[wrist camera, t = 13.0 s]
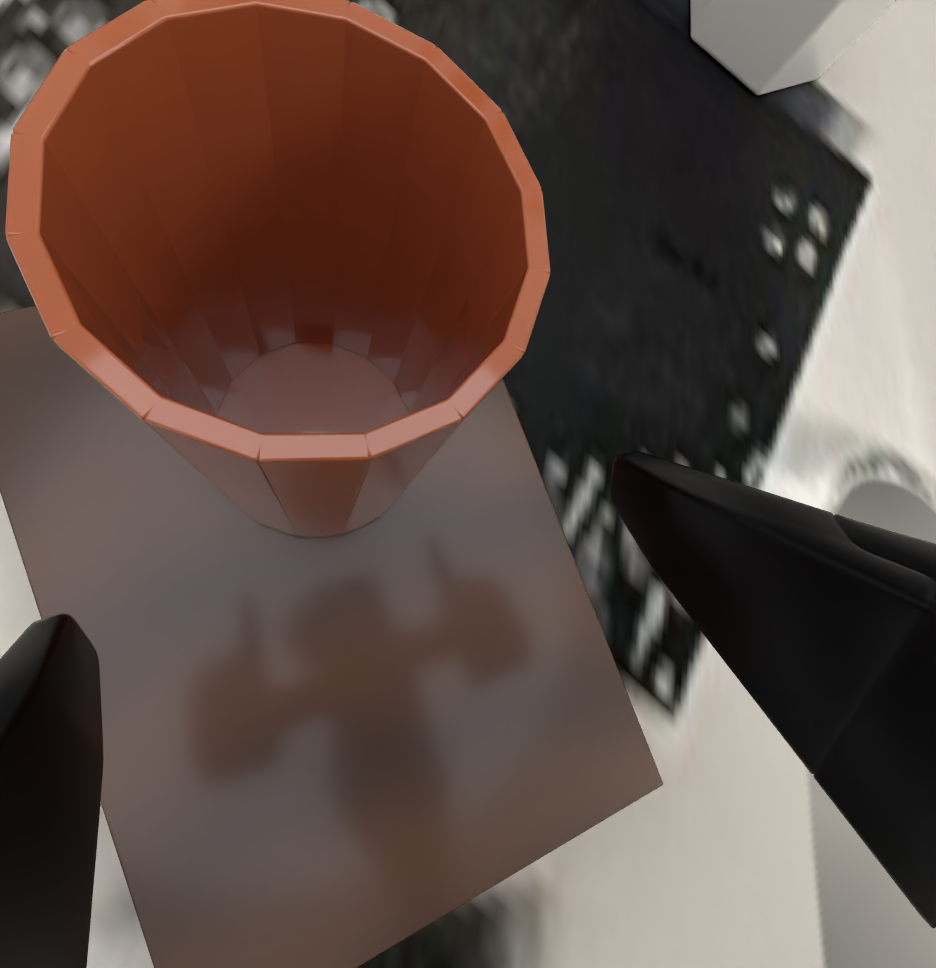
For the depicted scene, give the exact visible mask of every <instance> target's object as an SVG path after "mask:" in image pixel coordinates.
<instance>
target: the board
mask: <svg viewBox="0 0 936 968" xmlns="http://www.w3.org/2000/svg"><path fill="white" fill-rule="evenodd" d="M0 492H1V495H2V498H3V501H4V505H5V508H6V511H7V514H8V517H9V520H10V523H11V526H12V529H13V532H14V535H15V539H16V542H17V545H18V548H19V551H20V554H21V557H22V560H23V563H24V566H25V569H26V573H27V576H28V579H29V582H30V585H31V588H32V591H33V594H34V597H35V600H36V603H37V607H38V610H39V613H40V616H41V619H44V618H48V617H51V616H55V615H59V614H63V613H64V614H69V615H71V616H72V617H73V618H74V619H75V620H76V622H77V623H78V625H79V626H80V627H81V629H82V630H83V632H84V633H85V635H86V636H87V637H88V639H89V640H90V642H91V643H92V644H93V646H94V647H95V649H96V652H97V654H98V658H99V666H100V687H101V708H102V729H103V759H104V761H103V779H102V791H101V804H102V808H103V811H104V814H105V817H106V820H107V823H108V826H109V829H110V832H111V835H112V838H113V842H114V845H115V848H116V851H117V854H118V857H119V860H120V863H121V866H122V869H123V872H124V876H125V879H126V882H127V885H128V888H129V891H130V894H131V897H132V900H133V903H134V906H135V910H136V913H137V916H138V919H139V922H140V925H141V928H142V931H143V934H144V937H145V940H146V944H147V947H148V950H149V953H150V956H151V959H152V962H153V965H154V968H357V967H359V966H360V965H362V964H364V963H365V962H367V961H369V960H370V959H372V958H374V957H375V956H377V955H379V954H380V953H382V952H384V951H385V950H387V949H389V948H390V947H392V946H394V945H395V944H397V943H399V942H400V941H402V940H404V939H405V938H407V937H409V936H410V935H412V934H414V933H416V932H417V931H419V930H421V929H422V928H424V927H426V926H427V925H429V924H431V923H432V922H434V921H436V920H437V919H439V918H441V917H442V916H444V915H446V914H447V913H449V912H451V911H452V910H454V909H456V908H457V907H459V906H461V905H462V904H464V903H466V902H467V901H469V900H471V899H472V898H474V897H476V896H477V895H479V894H481V893H482V892H484V891H486V890H487V889H489V888H491V887H493V886H494V885H496V884H498V883H499V882H501V881H503V880H504V879H506V878H508V877H509V876H511V875H513V874H514V873H516V872H518V871H519V870H521V869H523V868H524V867H526V866H528V865H529V864H531V863H533V862H534V861H536V860H538V859H539V858H541V857H543V856H544V855H546V854H548V853H549V852H551V851H553V850H554V849H556V848H558V847H559V846H561V845H563V844H565V843H566V842H568V841H570V840H571V839H573V838H575V837H576V836H578V835H580V834H581V833H583V832H585V831H586V830H588V829H590V828H591V827H593V826H595V825H596V824H598V823H600V822H601V821H603V820H605V819H606V818H608V817H610V816H611V815H613V814H615V813H616V812H618V811H620V810H621V809H623V808H625V807H626V806H628V805H630V804H631V803H633V802H635V801H637V800H638V799H640V798H642V797H643V796H645V795H647V794H648V793H650V792H652V791H653V790H655V789H657V788H658V787H660V786H662V785H663V782H662V780H661V777H660V775H659V772H658V770H657V767H656V764H655V762H654V759H653V757H652V754H651V752H650V749H649V747H648V744H647V742H646V739H645V737H644V734H643V732H642V729H641V727H640V724H639V722H638V719H637V717H636V714H635V712H634V709H633V706H632V704H631V701H630V699H629V696H628V694H627V691H626V689H625V686H624V684H623V681H622V679H621V676H620V674H619V671H618V669H617V666H616V664H615V661H614V659H613V656H612V653H611V651H610V648H609V646H608V643H607V641H606V638H605V636H604V633H603V631H602V628H601V626H600V623H599V621H598V618H597V616H596V613H595V611H594V608H593V606H592V603H591V601H590V598H589V595H588V593H587V590H586V588H585V585H584V583H583V580H582V578H581V575H580V573H579V570H578V568H577V565H576V563H575V560H574V558H573V555H572V553H571V550H570V548H569V545H568V543H567V540H566V537H565V535H564V532H563V530H562V527H561V525H560V522H559V520H558V517H557V515H556V512H555V510H554V507H553V505H552V502H551V500H550V497H549V495H548V492H547V490H546V487H545V484H544V482H543V479H542V477H541V474H540V472H539V469H538V467H537V464H536V462H535V459H534V457H533V454H532V452H531V449H530V447H529V444H528V442H527V439H526V437H525V434H524V432H523V429H522V426H521V424H520V421H519V419H518V416H517V414H516V411H515V409H514V406H513V404H512V401H511V399H510V396H509V394H508V391H507V389H506V386H505V384H504V381H503V379H502V380H501V382H500V383H499V384H498V385H497V386H496V387H495V388H494V390H493V391H492V392H491V393H490V394H489V395H488V396H487V398H486V399H485V400H484V401H483V402H482V403H481V404H480V405H479V407H478V408H477V409H476V410H475V411H474V412H473V413H472V415H471V416H470V417H469V418H468V419H467V420H466V421H465V423H464V424H463V425H462V426H461V427H460V428H459V429H458V430H457V432H456V433H455V434H454V435H453V436H452V437H451V438H450V440H449V441H448V442H447V443H446V444H445V445H444V446H443V447H442V449H441V450H440V451H439V452H438V453H437V454H436V455H435V457H434V458H433V459H432V460H431V461H430V462H429V463H428V465H427V466H426V467H425V468H424V469H423V470H422V471H421V472H420V474H419V475H418V476H417V477H416V478H415V479H414V480H413V482H412V483H411V484H410V485H409V486H408V487H407V488H406V489H405V491H404V492H403V493H402V494H401V495H400V496H399V497H398V498H397V499H396V500H395V501H394V502H393V504H392V505H391V506H390V507H389V508H388V509H387V510H386V511H385V512H384V513H383V514H382V515H381V516H380V517H378V518H376V519H374V520H372V521H370V522H368V523H367V524H365V525H363V526H361V527H359V528H356V529H354V530H351V531H348V532H346V533H343V534H336V535H330V536H321V537H312V536H296V535H293V534H289V533H285V532H281V531H278V530H276V529H273V528H271V527H268V526H266V525H264V524H261V523H258V522H256V521H254V520H253V519H252V518H251V517H250V516H249V515H248V514H247V513H245V512H244V511H243V510H242V509H241V508H240V507H239V506H237V505H236V504H235V503H234V502H233V501H232V500H231V499H230V498H228V497H227V496H226V495H225V494H224V493H223V492H222V491H220V490H219V489H218V488H217V487H216V486H215V485H214V484H213V483H212V482H210V481H209V480H208V479H207V478H206V477H205V476H204V475H203V474H201V473H200V472H199V471H198V470H197V469H196V468H195V467H194V466H192V465H191V464H190V463H189V462H188V461H187V460H186V459H185V458H183V457H182V456H181V455H180V454H179V453H178V452H177V451H176V450H174V449H173V448H172V447H171V446H170V445H169V444H168V443H167V442H165V441H164V440H163V439H162V438H161V437H160V436H159V435H158V434H156V433H155V432H154V431H153V430H152V429H151V428H150V427H149V426H147V425H146V424H145V423H144V422H143V421H142V420H141V419H140V418H139V417H137V416H136V415H135V414H134V413H133V412H132V411H131V410H130V409H128V408H127V407H126V406H125V405H124V404H123V403H122V402H121V401H119V400H118V399H117V398H116V397H115V396H114V395H113V394H112V393H110V392H109V391H108V390H107V389H106V388H105V387H104V386H103V385H101V384H100V383H99V382H98V381H97V380H96V379H95V378H94V377H92V376H91V375H90V374H89V373H88V372H87V371H86V370H85V369H83V368H82V367H81V366H80V365H79V364H78V363H77V362H76V361H74V360H73V359H72V358H71V357H70V356H69V355H68V354H67V353H65V352H64V351H63V350H62V349H61V348H60V347H59V346H58V345H57V344H55V342H54V340H53V339H52V338H51V337H50V335H49V333H48V330H47V328H46V326H45V324H44V322H43V319H42V317H41V315H40V313H39V311H38V308H37V306H31V307H27V308H22V309H17V310H12V311H8V312H3V313H0Z"/></svg>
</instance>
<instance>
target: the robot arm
mask: <svg viewBox="0 0 936 968" xmlns="http://www.w3.org/2000/svg"><path fill="white" fill-rule="evenodd" d="M610 498H611V501H612V503H613V505H614V507H615V508H616V510H617V512H618V513H619V515H620V517H621V518H622V520H623V521H624V523H625V525H626V526H627V528H628V530H629V531H630V533H631V534H632V536H633V538H634V539H635V541H636V543H637V544H638V546H639V548H640V549H641V551H642V552H643V554H644V556H645V557H646V559H647V560H648V562H649V563H650V565H651V566H652V568H653V569H654V570H655V572H656V573H657V574H658V576H659V577H660V578H661V580H662V581H663V582H664V584H665V585H666V586H667V587H668V589H669V590H670V591H671V593H672V594H673V595H674V597H675V598H676V599H677V600H678V602H679V603H680V604H681V606H682V607H683V608H684V609H685V611H686V612H687V613H688V615H689V616H690V617H691V619H692V620H693V621H694V622H695V624H696V625H697V626H698V628H699V629H700V630H701V631H702V633H703V634H704V635H705V637H706V638H707V639H708V641H709V642H710V643H711V644H712V646H713V647H714V648H715V650H716V651H717V652H718V653H719V655H720V656H721V657H722V659H723V660H724V661H725V663H726V664H727V665H728V666H729V668H730V669H731V670H732V672H733V673H734V674H735V675H736V677H737V678H738V679H739V681H740V682H741V683H742V685H743V686H744V687H745V688H746V690H747V691H748V692H749V694H750V695H751V696H752V697H753V699H754V700H755V701H756V703H757V704H758V705H759V707H760V708H761V709H762V710H763V712H764V713H765V714H766V716H767V717H768V718H769V719H770V721H771V722H772V723H773V725H774V726H775V727H776V729H777V730H778V731H779V732H780V734H781V735H782V736H783V738H784V739H785V740H786V742H787V743H788V744H789V745H790V747H791V748H792V749H793V751H794V752H795V753H796V754H797V756H798V757H799V758H800V760H801V761H802V762H803V764H804V765H805V766H806V767H807V769H808V770H809V771H810V773H811V774H814V778H815V780H816V781H817V782H818V783H819V785H820V786H821V787H822V789H823V790H824V791H825V792H826V794H827V795H828V796H829V798H830V799H831V800H832V801H833V803H834V804H835V805H836V807H837V808H838V809H839V811H840V812H841V813H842V814H843V816H844V817H845V818H846V819H847V821H848V822H849V824H850V825H851V826H852V827H853V828H854V830H855V831H856V833H857V834H858V835H859V836H860V838H861V839H862V840H863V842H864V843H865V844H866V845H867V847H868V848H869V849H870V851H871V852H872V853H873V855H874V856H875V857H876V858H877V860H878V861H879V862H880V864H881V865H882V866H883V867H884V869H885V870H886V871H887V873H888V874H889V875H890V876H891V878H892V879H893V880H894V882H895V883H896V884H897V886H898V887H899V888H900V890H901V891H902V892H903V893H904V895H905V896H906V897H907V899H908V900H909V901H910V903H911V904H912V905H913V906H914V907H915V909H916V910H917V911H918V913H919V914H920V915H921V916H922V918H923V919H924V920H925V921H926V922H927V923H928V924H929V925H930V926H931V927H932V928H936V544H935V543H931V542H927V541H924V540H920V539H917V538H913V537H910V536H906V535H902V534H899V533H895V532H891V531H888V530H885V529H882V528H878V527H875V526H872V525H869V524H865V523H862V522H859V521H856V520H853V519H849V518H846V517H843V516H840V515H833V514H832V513H831V512H828V511H824V510H821V509H818V508H815V507H812V506H809V505H806V504H803V503H799V502H796V501H793V500H790V499H787V498H784V497H781V496H777V495H774V494H771V493H768V492H765V491H762V490H759V489H756V488H752V487H749V486H746V485H743V484H740V483H737V482H734V481H731V480H727V479H724V478H721V477H718V476H715V475H712V474H709V473H706V472H703V471H699V470H696V469H693V468H690V467H687V466H684V465H681V464H678V463H674V462H671V461H668V460H665V459H662V458H659V457H656V456H653V455H649V454H646V453H643V452H640V451H632V452H628V453H625V454H621V455H619V456H617V457H616V458H615V460H614V463H613V469H612V476H611V483H610ZM103 761H104V759H103V729H102V708H101V687H100V666H99V658H98V654H97V652H96V649H95V647H94V646H93V644H92V643H91V642H90V640H89V639H88V637H87V636H86V635H85V633H84V632H83V630H82V629H81V627H80V626H79V625H78V623H77V622H76V620H75V619H74V618H73V617H72V616H71V615H69V614H64V613H63V614H59V615H55V616H51V617H48V618H44V619H41V620H38V621H36V622H34V623H32V624H31V625H30V626H29V627H28V628H27V629H26V630H25V631H24V633H23V634H22V635H21V636H20V637H19V638H18V639H17V641H16V642H15V643H14V644H13V645H12V646H11V647H10V648H9V650H8V651H7V652H6V653H5V654H4V655H3V656H2V657H1V659H0V968H86V966H87V954H88V943H89V931H90V919H91V908H92V896H93V884H94V872H95V861H96V849H97V837H98V826H99V814H100V802H101V791H102V779H103Z"/></svg>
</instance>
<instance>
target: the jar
mask: <svg viewBox="0 0 936 968" xmlns="http://www.w3.org/2000/svg"><path fill="white" fill-rule="evenodd" d="M895 1H896V0H690V20H691V38H692V40H693V41H694V42H696V43H697V44H698V45H699V46H700V47H701V48H703V49H704V50H705V51H706V52H707V53H708V54H710V55H711V56H712V57H713V58H714V59H715V60H716V61H718V62H719V63H720V64H721V65H722V66H723V67H725V68H726V69H727V70H728V71H729V72H730V73H731V74H733V75H734V76H735V77H736V78H737V79H738V80H740V81H741V82H742V83H743V84H744V85H745V86H746V87H747V88H749V89H750V90H751V91H752V92H753V93H754V94H756V95H762V94H766V93H769V92H773V91H776V90H780V89H784V88H787V87H791V86H795V85H798V84H802V83H806V82H809V81H813V80H817V79H819V78H820V77H821V76H822V75H823V74H824V73H825V72H826V71H827V70H828V69H829V68H830V67H831V66H832V65H833V64H834V63H835V62H836V61H837V60H838V59H839V58H840V57H841V56H842V55H843V54H844V53H845V52H846V51H847V50H848V49H849V48H850V47H851V46H852V45H853V44H854V43H855V42H856V41H857V40H858V39H859V38H860V37H861V36H862V35H863V34H864V33H865V32H866V30H867V29H868V28H869V27H870V26H871V25H872V24H873V23H874V22H875V21H876V20H877V19H878V18H879V17H880V16H881V15H882V14H883V13H884V12H885V11H886V10H887V9H888V8H889V7H890V6H891V5H892V4H893V3H894V2H895Z"/></svg>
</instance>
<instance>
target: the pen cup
mask: <svg viewBox="0 0 936 968" xmlns="http://www.w3.org/2000/svg"><path fill="white" fill-rule="evenodd" d="M5 234H6V236H7V242H8V244H9V247H10V249H11V251H12V253H13V255H14V258H15V260H16V262H17V264H18V266H19V269H20V271H21V273H22V275H23V277H24V280H25V282H26V284H27V286H28V288H29V291H30V293H31V295H32V297H33V300H34V302H35V304H36V306H37V308H38V311H39V313H40V315H41V317H42V319H43V322H44V324H45V326H46V328H47V330H48V333H49V335H50V337H51V338H52V339H53V340H54V342H55V344H57V345H58V346H59V347H60V348H61V349H62V350H63V351H64V352H65V353H67V354H68V355H69V356H70V357H71V358H72V359H73V360H74V361H76V362H77V363H78V364H79V365H80V366H81V367H82V368H83V369H85V370H86V371H87V372H88V373H89V374H90V375H91V376H92V377H94V378H95V379H96V380H97V381H98V382H99V383H100V384H101V385H103V386H104V387H105V388H106V389H107V390H108V391H109V392H110V393H112V394H113V395H114V396H115V397H116V398H117V399H118V400H119V401H121V402H122V403H123V404H124V405H125V406H126V407H127V408H128V409H130V410H131V411H132V412H133V413H134V414H135V415H136V416H137V417H139V418H140V419H141V420H142V421H143V422H144V423H145V424H146V425H147V426H149V427H150V428H151V429H152V430H153V431H154V432H155V433H156V434H158V435H159V436H160V437H161V438H162V439H163V440H164V441H165V442H167V443H168V444H169V445H170V446H171V447H172V448H173V449H174V450H176V451H177V452H178V453H179V454H180V455H181V456H182V457H183V458H185V459H186V460H187V461H188V462H189V463H190V464H191V465H192V466H194V467H195V468H196V469H197V470H198V471H199V472H200V473H201V474H203V475H204V476H205V477H206V478H207V479H208V480H209V481H210V482H212V483H213V484H214V485H215V486H216V487H217V488H218V489H219V490H220V491H222V492H223V493H224V494H225V495H226V496H227V497H228V498H230V499H231V500H232V501H233V502H234V503H235V504H236V505H237V506H239V507H240V508H241V509H242V510H243V511H244V512H245V513H247V514H248V515H249V516H250V517H251V518H252V519H253V520H254V521H256V522H258V523H261V524H264V525H266V526H268V527H271V528H273V529H276V530H278V531H281V532H285V533H289V534H293V535H296V536H312V537H321V536H330V535H336V534H343V533H346V532H348V531H351V530H354V529H356V528H359V527H361V526H363V525H365V524H367V523H368V522H370V521H372V520H374V519H376V518H378V517H380V516H381V515H382V514H383V513H384V512H385V511H386V510H387V509H388V508H389V507H390V506H391V505H392V504H393V502H394V501H395V500H396V499H397V498H398V497H399V496H400V495H401V494H402V493H403V492H404V491H405V489H406V488H407V487H408V486H409V485H410V484H411V483H412V482H413V480H414V479H415V478H416V477H417V476H418V475H419V474H420V472H421V471H422V470H423V469H424V468H425V467H426V466H427V465H428V463H429V462H430V461H431V460H432V459H433V458H434V457H435V455H436V454H437V453H438V452H439V451H440V450H441V449H442V447H443V446H444V445H445V444H446V443H447V442H448V441H449V440H450V438H451V437H452V436H453V435H454V434H455V433H456V432H457V430H458V429H459V428H460V427H461V426H462V425H463V424H464V423H465V421H466V420H467V419H468V418H469V417H470V416H471V415H472V413H473V412H474V411H475V410H476V409H477V408H478V407H479V405H480V404H481V403H482V402H483V401H484V400H485V399H486V398H487V396H488V395H489V394H490V393H491V392H492V391H493V390H494V388H495V387H496V386H497V385H498V384H499V383H500V382H501V380H502V379H503V378H504V377H505V376H506V375H507V374H508V373H509V371H510V370H511V369H512V368H513V367H514V366H515V365H516V363H517V362H518V361H519V360H520V359H521V358H522V357H523V354H524V353H525V351H526V348H527V345H528V342H529V339H530V336H531V333H532V330H533V327H534V324H535V320H536V317H537V314H538V311H539V308H540V305H541V302H542V299H543V296H544V293H545V290H546V286H547V283H548V280H549V277H550V264H549V254H548V244H547V234H546V224H545V214H544V204H543V194H542V190H541V186H540V184H539V182H538V180H537V178H536V176H535V174H534V172H533V170H532V168H531V166H530V164H529V162H528V160H527V159H526V157H525V155H524V153H523V151H522V149H521V147H520V145H519V143H518V141H517V139H516V137H515V135H514V133H513V131H512V129H511V127H510V125H509V123H508V121H507V119H506V117H505V115H504V113H503V112H501V109H500V108H499V107H498V106H497V105H496V104H495V103H494V102H493V101H492V100H491V99H490V98H489V97H488V96H487V95H486V94H485V93H484V92H483V91H482V90H481V89H480V88H479V87H478V86H477V85H476V84H475V83H474V82H473V81H472V80H471V79H470V78H469V77H468V76H467V75H466V74H465V73H464V72H463V71H462V70H461V69H460V68H459V67H458V66H457V65H456V64H455V63H454V62H453V61H452V60H451V59H450V58H449V57H448V56H446V55H445V54H444V53H443V52H442V51H441V50H440V49H439V48H438V47H435V45H434V44H432V43H430V42H429V41H427V40H425V39H423V38H421V37H419V36H417V35H415V34H413V33H411V32H409V31H407V30H406V29H404V28H402V27H400V26H398V25H396V24H394V23H392V22H390V21H388V20H386V19H384V18H382V17H381V16H379V15H377V14H375V13H373V12H371V11H369V10H367V9H365V8H363V7H361V6H359V5H358V4H356V3H354V2H350V3H349V1H348V0H146V1H144V2H142V3H140V4H139V5H137V6H135V7H134V8H132V9H130V10H129V11H127V12H125V13H124V14H122V15H120V16H119V17H117V18H115V19H113V20H112V21H110V22H108V23H107V24H105V25H103V26H102V27H100V28H98V29H97V30H95V31H93V32H91V33H90V34H88V35H86V36H85V37H83V38H81V39H80V40H78V41H76V42H75V43H73V44H71V45H70V46H68V47H67V50H64V51H63V52H62V54H61V55H60V57H59V58H58V60H57V61H56V63H55V65H54V66H53V68H52V69H51V71H50V72H49V74H48V75H47V77H46V79H45V80H44V82H43V83H42V85H41V86H40V88H39V89H38V91H37V93H36V94H35V96H34V97H33V99H32V100H31V102H30V103H29V105H28V107H27V108H26V110H25V111H24V113H23V114H22V116H21V117H20V119H19V121H18V122H17V124H16V125H15V127H14V128H13V133H12V134H11V145H10V162H9V178H8V195H7V212H6V228H5Z"/></svg>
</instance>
